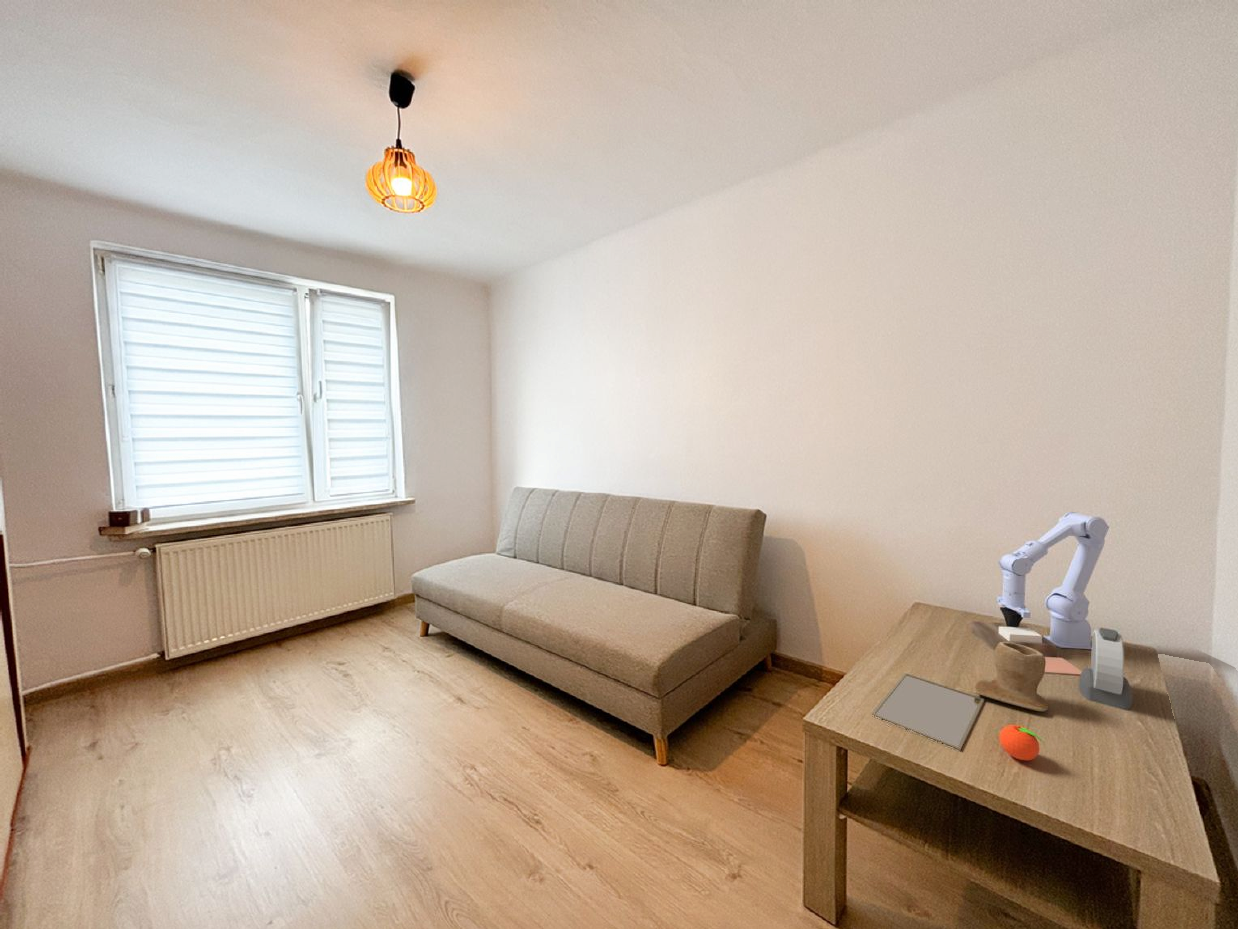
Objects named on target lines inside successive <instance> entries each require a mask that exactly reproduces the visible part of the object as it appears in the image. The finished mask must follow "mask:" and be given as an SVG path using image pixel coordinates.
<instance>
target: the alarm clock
mask: <svg viewBox="0 0 1238 929" xmlns="http://www.w3.org/2000/svg"><path fill="white" fill-rule="evenodd" d="M1091 647H1092V649H1091V653H1090V654H1091V656H1090V657H1091V658H1090V659H1091V660H1090V662H1091V663H1090V664H1091V665H1090V666H1091V667H1090V668H1089V667H1088V668H1087V667H1086V668H1083V669H1082V670H1081V671H1082V673H1081V675H1079V676H1080V677H1079V681H1078V690H1079V692H1080V694H1081V695H1082V696H1083V697H1084V698H1085V699H1086V700H1087V701H1090V702H1093V703H1097V704H1101V705H1105V706H1109V707H1113V708H1116V709H1120V710H1124V711H1128V710H1130V709H1131V708H1132V706H1133V699H1134V694H1133V690H1132V687H1131V685H1130V683H1129V680H1128V679H1127V678H1126V677H1125V675H1124V674H1125V673H1124V672H1125V669H1124V668H1125V650H1124V640H1123V636H1122V635H1121V634H1120V633H1119V632H1118V631H1117V630H1115V629H1110V628H1105V627H1100V628H1099V629H1094V630H1093V633H1092V638H1091Z"/></svg>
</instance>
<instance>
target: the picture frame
mask: <svg viewBox="0 0 1238 929" xmlns="http://www.w3.org/2000/svg"><path fill="white" fill-rule="evenodd" d="M984 702H985V698H984V697H981V696H977V695H974V694H972V693H968V692H965V691H962V690H958V689H955V688H953V687H949V686H946V685H943V684H940V683H937V682H934V681H931V680H928V679H926V678H921V677H918V676H915V675H913V674H909V673H906V672H905V673H903V675H902V676H901V677H900V678H899V680H897V682H896V683H894V685H893V687H892V688H891V689H890V690H889V692H888V693H887V694H886V695H885V697H883V699H882V700H881V701H880V703H878V705H877V706H876V707H875V709H873V711H872V712H871V714H872V715H874V716H876V717H879V718H881V719H883V720H885V721H888V722H891V723H893V724H895V725H899V726H902V727H904V728H905V729H908V730H912V731H914V732H916V733H918V734H921V735H923V736H925V737H927V738H926V739H928V738H930V739H933V740H934V741H933V740H932V741H933V742H935V741H937V742H936V743H938V742H941V743H943V744H945V745H947V746H950V747H953V748H954V749H953V750H955V749H957V750H959V751H958V752H961V751H962V749H963V747H964V745H965V743H964V742H966V741H967V738H968V736H969V734H970V732H971V730H972V727H973V725H974V723H975V722H974V721H976V720H977V717H978V716H979V713H980V711H981V709H982V707H983V705H984ZM883 704H884V705H883ZM909 713H912V714H909ZM871 714H870V715H871ZM901 714H902V715H901ZM883 720H882V721H883ZM885 721H884V722H885ZM896 721H899V722H896ZM910 721H911V722H910ZM888 722H887V723H888ZM893 724H892V725H893ZM895 725H894V726H895ZM908 725H912V726H908ZM905 729H904V730H905ZM908 730H907V731H908ZM918 734H917V735H918ZM923 736H922V737H923ZM925 737H924V738H925ZM930 739H929V740H930ZM965 740H966V741H965ZM943 744H942V745H943ZM963 744H964V745H963ZM945 745H944V746H945ZM947 746H946V747H947ZM962 746H963V747H962ZM950 747H949V748H950ZM961 748H962V749H961ZM957 750H956V751H957ZM960 750H961V751H960Z"/></svg>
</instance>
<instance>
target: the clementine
mask: <svg viewBox="0 0 1238 929" xmlns="http://www.w3.org/2000/svg"><path fill="white" fill-rule="evenodd" d="M998 736H999V742H1000V745H1001V747H1002V748H1003V750H1005V752H1006V753H1007V754H1008V755H1009V756H1011V757H1013V758H1015V759H1017V760H1020V761H1031V760H1033V759H1035V758H1037V756H1038V755H1039V753H1040V743H1039V741H1038V740H1040V741H1041V742H1042V744H1043V745H1044V747H1045V748H1047V746H1046V744H1045V742H1044V740H1042V738H1041V737H1040V736H1038V735H1037V734H1036V733H1034V732H1033V731H1031V730H1029V729H1027V728H1025V727H1024V726H1021V725H1017V724H1010V725H1009V724H1008V725H1005V726H1004V727H1003V728H1002V729H1001V730H1000V732H999V735H998Z"/></svg>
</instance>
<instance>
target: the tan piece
mask: <svg viewBox="0 0 1238 929" xmlns="http://www.w3.org/2000/svg"><path fill="white" fill-rule="evenodd" d="M993 654H994V663H995V668H996V677H995V678H994V679H993V680H992V679H987V678H986V679H984V678H983V679H979V680H977V681H976V683H975V685H974V688H973V690H974V691H973V692H974V694H977V695H979V696H983V697H986V698H990V699H992V700H996V701H999V702H1002V703H1006V704H1010V705H1013V706H1017V707H1021V708H1025V709H1027V710H1031V711H1032V710H1033V711H1035V712H1036V711H1037V712H1046V711H1047V710H1048V708H1049V704H1048V702H1047V700H1046V699H1045V698H1044V697H1043V696H1041V695H1039V694H1038V691H1037V690H1038V686H1039V684H1040V683H1041V681H1042V680H1043V677H1044V675H1045V674H1046V673H1045V665H1046V660H1045V657H1044V656H1043V655H1042V654H1041V653H1040V652H1038V651H1037V650H1034V649H1032V648H1029V647H1026V646H1023V645H1019V644H1015V643H1009V642H1000V643H998V645H997V647H996V649H995V651H994V653H993Z"/></svg>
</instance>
